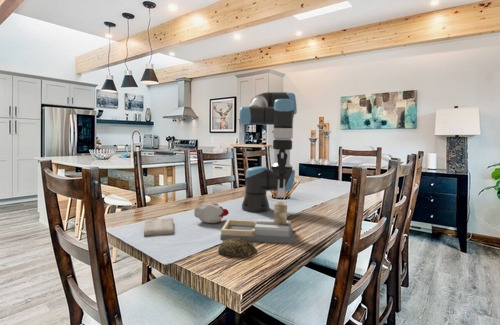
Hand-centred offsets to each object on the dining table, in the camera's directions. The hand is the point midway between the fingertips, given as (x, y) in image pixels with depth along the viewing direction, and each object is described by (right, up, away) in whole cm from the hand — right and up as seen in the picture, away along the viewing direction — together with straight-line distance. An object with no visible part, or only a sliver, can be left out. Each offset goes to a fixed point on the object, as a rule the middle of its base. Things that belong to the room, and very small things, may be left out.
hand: (281, 192), depth 115 cm
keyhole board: (-10, -17, +2) cm, 20 cm away
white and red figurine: (-29, -16, +18) cm, 38 cm away
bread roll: (-17, -19, -15) cm, 29 cm away
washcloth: (-51, -17, +8) cm, 54 cm away
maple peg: (0, -16, +1) cm, 16 cm away
